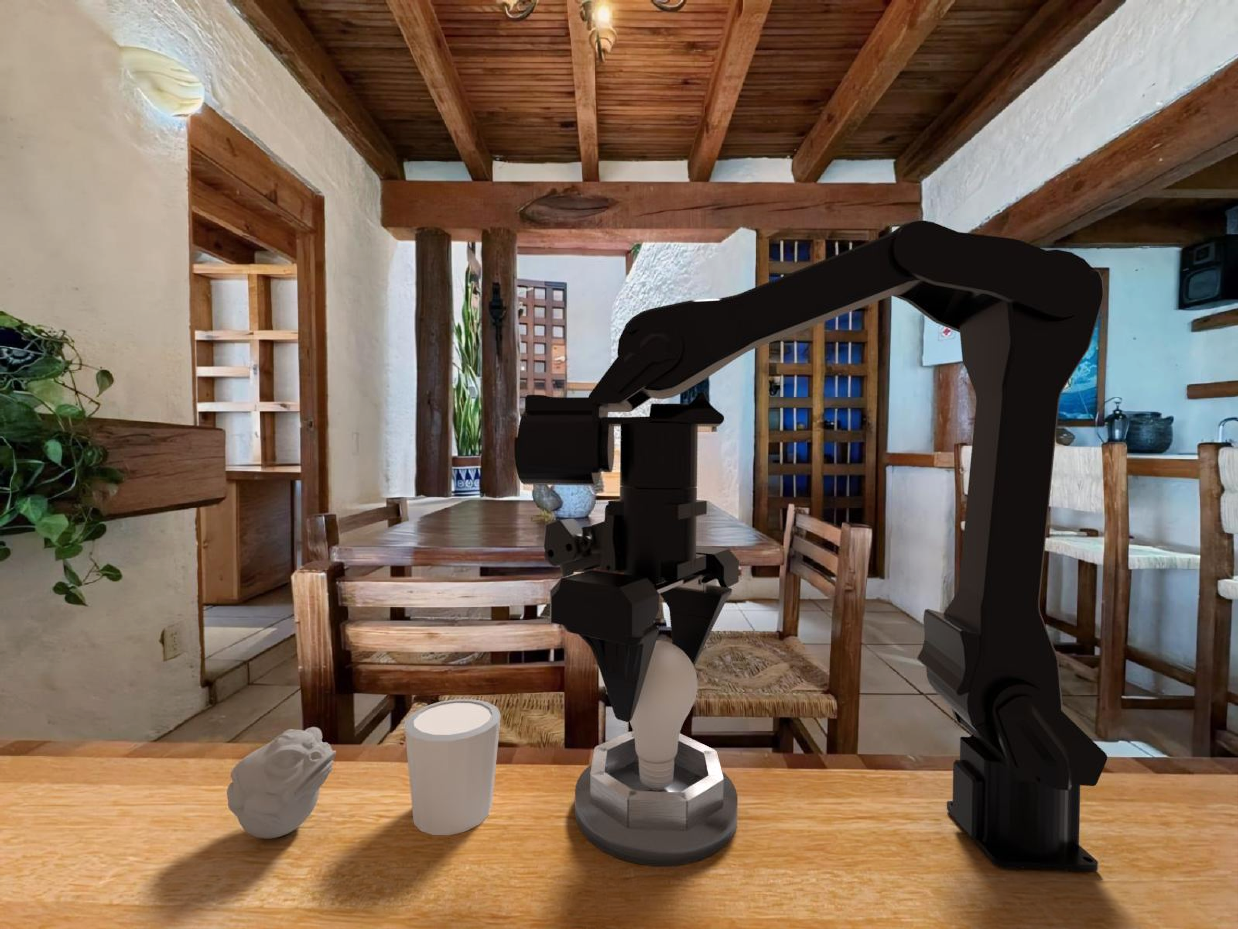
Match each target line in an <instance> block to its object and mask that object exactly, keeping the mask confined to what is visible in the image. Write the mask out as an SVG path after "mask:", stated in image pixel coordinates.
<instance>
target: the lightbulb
mask: <svg viewBox="0 0 1238 929" xmlns="http://www.w3.org/2000/svg"><path fill="white" fill-rule="evenodd" d="M698 683H699V682H698V676H697V671H696V669H695V667H694V666H693V664H692V662H691V660H690V659H689V657H688V656H687V655H686V654H685V653H684V652H683V651H682V650H681V649H680V648H678V647H677V646H675V645H673V644H672V642H668V641H666V640H661V639H659V640H658V639H657V640H656V643H655V647H654V650H653V654H652V656H651V660H650V663H649V666H648V670H647V673H646V677H645V680H644V683H643V687H642V690H641V693H640V697H639V700H638V703H637V706H636V709H635V712H634V714H633V717H632V719H631V720H630V721H629V723H630V727H631V728H632V731H633V734H634V739H635V750H636V753H637V755H638V756H639V759H638V761H639V773H640V780H641V782H642V783H643V784H644V785H645V786H647V787H649V788H650V789H652V790H654V791H659V790H662V789H663V788H665V787H667V786H669V785H670V784H671V783H672V781H673V772H674V757H675V756H676V754H677V750H678V739H679V734H681V730H682V727H683V724H684V722H685V720H686V719H687V717H688V715H689V714H690V712H691V710H692V707H693V706H694V704H695V702H696V698H697V693H698V690H699V689H698V685H699V684H698Z"/></svg>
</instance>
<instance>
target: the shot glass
mask: <svg viewBox="0 0 1238 929" xmlns="http://www.w3.org/2000/svg"><path fill="white" fill-rule="evenodd" d="M501 717H502V716H501V713H500V710H499V708H498V707H497V706H495V705H494V704H492V703H490V702H489V701H485V700H478V699H475V698H474V699H471V698H470V699H468V698H466V699H464V698H463V699H462V698H455V699H449V700H448V699H447V700H443V701H439V702H438V701H437V702H434V703H432V704H428V705H425V706H422V707H420V708H419V709H417V710H416V711H413V712H412V713H410V715H409V716H408V717H407V719H406V720H405V721H404V733H405V744H406V755H407V756H406V757H407V766H408V776H409V786H410V796H411V797H410V799H411V808H412V809H411V811H412V820H413V825H414V826H415V827H416V828H417V829H418V830H419V832H422V833H426V834H429V835H431V836H453V835H457V834H461V833H464V832H467V831H469V830H471V829H473V828H475V827H477V826H479V825H480V824H482V822H484V820H486V819H487V818H488V817H489V816H490V815H489V814H490V813H491V809H492V807H493V806H492V805H493V798H494V788H495V787H494V786H495V779H496V778H495V777H496V765H497V757H498V749H499V748H498V747H499V738H500V736H499V735H500V726H501V725H500V724H501Z"/></svg>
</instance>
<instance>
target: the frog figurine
mask: <svg viewBox="0 0 1238 929" xmlns="http://www.w3.org/2000/svg"><path fill="white" fill-rule="evenodd" d="M322 739H323V732H322V730H321V729H320V728H319V727H316V726H311V727H307V728H306V729H304V730H302V729H292V728H289V729H287V730H284V731H283V732H282V733H281V734H279V735H278V736H276V737H275V738H274V739H273V740H272V741H269V742H268V743H267V744H265V745H263V746H262V747H260V748H258V749H255V750H254V751H252V752H251V753H249V754H248V755H246V756H245V757H243V758H242V759H241V760H239V761H238V763H237V764H236V765H235V766H234V767H233V768H232V770H231V772H230V779H231V781H232V782H231V783H230V784H228V786H227V790H226V795H227V806H228V809H229V810H230V812H232V814H234V816H236V818H237V820H238V822H239V825H240V826H241V827H242V829H243V830H244V831H245V832H246V833H248V834H249V835H250V836H253V837H256V838H259V839H276V838H280V837H283V836H285V835H287V834H289V833H291V832H293V831H295V830H296V829H297V828H299V827H300V826H301V825H302V824H303V823H304V822H305V821H306V820H307V819H308V817H309V816H310V815H311V814H312V812H313V810H314V809H315V806H316V805H317V802H318V800H319V795H320V788H321V787H322V786H323V785H324V784H325V782H326V780H327V778H328V776H329V774H330V773H331V772H332V771H333V766H332V765H334V763H335V761H334V758H335V756H336V755H337V750H333V749H332V746H331V745H330V744H329V743H328V742H326V741H325V742H323V740H322Z"/></svg>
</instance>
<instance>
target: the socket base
mask: <svg viewBox="0 0 1238 929" xmlns="http://www.w3.org/2000/svg"><path fill="white" fill-rule="evenodd" d="M638 759H639V756H638V755H637V753H636V750H635V739H634V734H633V730H632V731H628V732H625V733H624V734H621V735H619V736H616V737H615V738H612V739H610V740H607V741H605V742H603V743H601V744H597V745H596V746H595V747H594V750H593V756H592V761H591V764H590V765H588V766H587V767H586V768H585V769H584V770H583V772H581V774H580V775H579V777H578V778H577V781H576V785H575V790H574V815H575V821H576V824H577V826H578V828H579V830H580V831H581V834H582V835H583V836H584V837H585V838H586V839H587V841H589V842H590V844H592V845H593V846H595V847H596V848H597V849H599V850H601V851H602V852H604V853H606V854H608V855H610V856H611V857H614V858H618V859H619V860H622V861H626V862H629V863H633V864H639V865H643V866H653V867H672V866H681V865H687V864H691V863H695V862H699V861H701V860H704V859H706V858H708V857H711V856H713V855H715V853H718V852H719V851H721V850H722V849H723V848H724V847H725V846H726V845H727V844H728V843H729V842H730V841H731V839H732V838H733V837H734V834H735V832H736V829H737V825H738V802H739V801H738V792H737V790H736V787H735V785H734V783H733V781H732V779H731V778H729V776H728V775H727V774H726V773H725V772H724V771H723V770H722V767H721V763H720V759H719V756H718V752H717V750H716V749H714V748H711V747H709V746H707V745H705V744H703V743H701V742H699V741H697V740H695V739H692V738H690V737H688V736H686V735H684V734H682V733H680V734H679V739H678V750H677V754H676V756H675V757H674V772H673V781H672V783H671V784H670V785H669V786H667V787H665V788H663V789H662V790H659V791H654V790H652V789H650V788H649V787H647V786H645V785H644V784H643V783H642V782H641V780H640V773H639V761H638Z"/></svg>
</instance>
